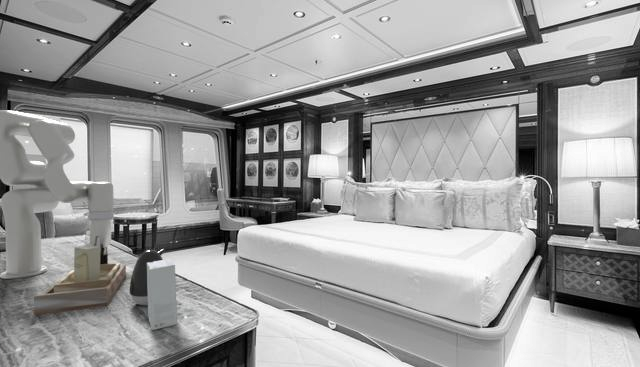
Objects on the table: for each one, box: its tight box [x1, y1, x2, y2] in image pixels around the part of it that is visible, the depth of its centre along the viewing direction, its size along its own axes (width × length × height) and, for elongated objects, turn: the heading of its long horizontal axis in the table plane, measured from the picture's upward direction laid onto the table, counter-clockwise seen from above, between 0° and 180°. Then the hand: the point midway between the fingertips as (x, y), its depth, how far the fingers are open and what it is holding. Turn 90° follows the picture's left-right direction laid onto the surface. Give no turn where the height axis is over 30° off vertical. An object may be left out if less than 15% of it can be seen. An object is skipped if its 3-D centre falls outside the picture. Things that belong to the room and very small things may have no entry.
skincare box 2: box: [147, 258, 178, 331], centre depth 78 cm, size 8×6×15 cm
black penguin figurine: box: [129, 248, 166, 307], centre depth 91 cm, size 10×10×15 cm
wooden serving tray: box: [33, 264, 127, 316], centre depth 98 cm, size 29×16×5 cm, turn 23°
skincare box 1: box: [73, 244, 100, 282], centre depth 99 cm, size 6×4×12 cm
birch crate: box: [53, 262, 121, 293], centre depth 102 cm, size 20×13×4 cm, turn 23°
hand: (102, 265), depth 115 cm, fingers closed
